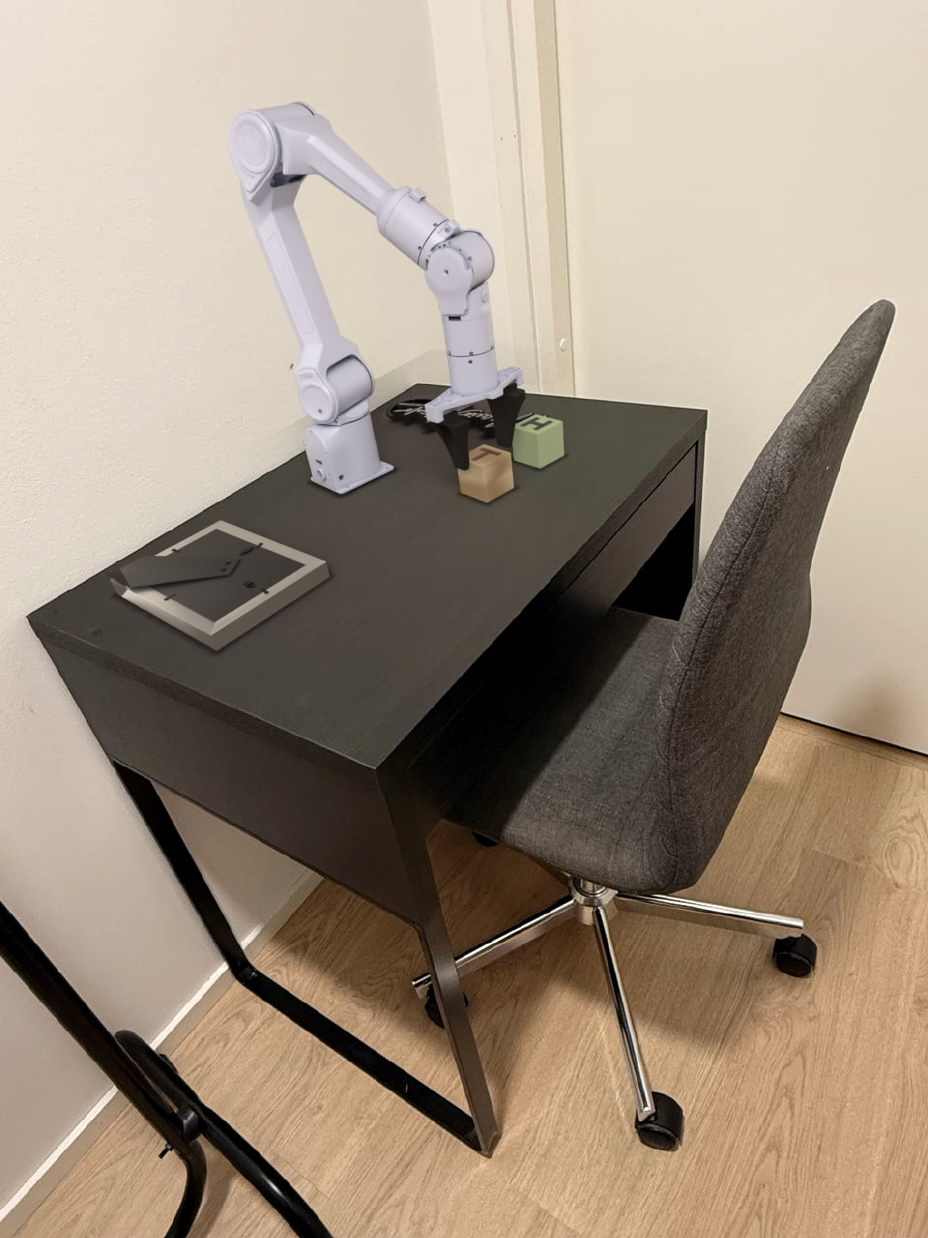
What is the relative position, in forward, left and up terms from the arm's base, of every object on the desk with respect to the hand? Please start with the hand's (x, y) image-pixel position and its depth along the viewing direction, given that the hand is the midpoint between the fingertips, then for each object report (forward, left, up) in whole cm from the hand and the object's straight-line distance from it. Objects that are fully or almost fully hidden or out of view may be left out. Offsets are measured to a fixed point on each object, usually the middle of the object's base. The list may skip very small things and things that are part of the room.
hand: (483, 456), depth 95 cm
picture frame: (-35, +9, -5) cm, 36 cm away
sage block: (+11, +1, -5) cm, 12 cm away
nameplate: (+14, +20, -5) cm, 25 cm away
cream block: (0, 0, -5) cm, 5 cm away
